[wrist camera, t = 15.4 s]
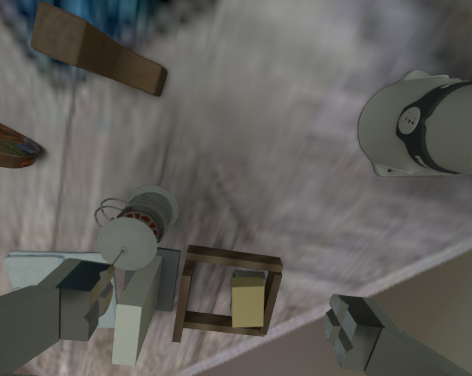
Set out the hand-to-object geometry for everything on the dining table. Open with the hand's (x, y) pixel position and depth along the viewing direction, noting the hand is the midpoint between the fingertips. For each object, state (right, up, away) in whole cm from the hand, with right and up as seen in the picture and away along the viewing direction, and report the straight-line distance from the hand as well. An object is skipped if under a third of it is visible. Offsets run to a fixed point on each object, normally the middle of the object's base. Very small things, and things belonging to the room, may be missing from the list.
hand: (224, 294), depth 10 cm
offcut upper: (+3, -18, +43) cm, 46 cm away
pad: (-17, -14, +43) cm, 48 cm away
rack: (-1, -17, +45) cm, 48 cm away
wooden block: (-16, +23, +33) cm, 43 cm away
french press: (-16, 0, +39) cm, 43 cm away
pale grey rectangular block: (-17, -14, +43) cm, 48 cm away
